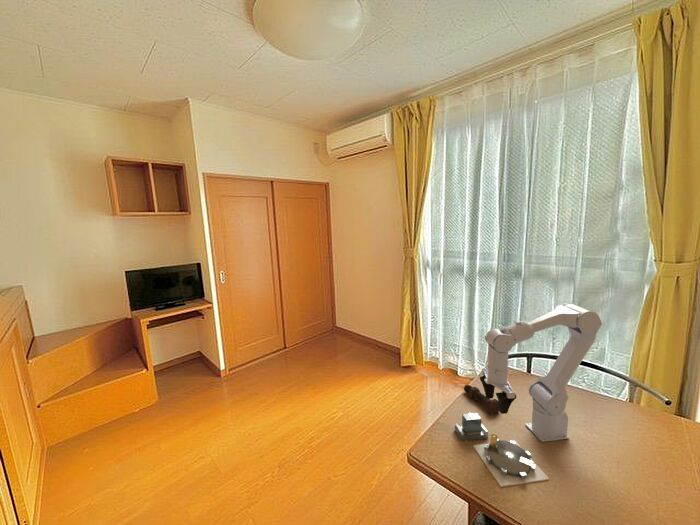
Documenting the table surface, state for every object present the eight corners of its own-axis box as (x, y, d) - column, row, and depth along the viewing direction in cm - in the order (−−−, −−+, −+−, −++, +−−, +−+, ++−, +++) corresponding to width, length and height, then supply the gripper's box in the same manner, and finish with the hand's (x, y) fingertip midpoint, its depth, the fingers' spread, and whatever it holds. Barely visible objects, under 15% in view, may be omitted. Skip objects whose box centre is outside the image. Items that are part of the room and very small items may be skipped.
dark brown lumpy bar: (467, 395, 120) (497, 417, 105) (459, 392, 118) (487, 414, 104) (473, 382, 120) (503, 402, 106) (464, 379, 118) (493, 399, 104)
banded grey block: (476, 425, 98) (476, 412, 97) (481, 432, 95) (481, 418, 94) (462, 427, 97) (462, 413, 96) (466, 434, 94) (466, 420, 93)
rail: (479, 427, 99) (479, 420, 99) (488, 438, 94) (488, 431, 94) (454, 430, 98) (454, 423, 98) (461, 441, 93) (462, 434, 93)
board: (514, 441, 92) (514, 439, 92) (548, 479, 79) (549, 478, 78) (473, 446, 91) (473, 445, 91) (500, 487, 77) (500, 485, 77)
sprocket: (490, 436, 94) (490, 420, 93) (538, 456, 85) (539, 438, 85) (478, 463, 84) (478, 446, 83) (531, 489, 75) (532, 469, 75)
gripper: (473, 357, 99) (473, 393, 101) (499, 380, 85) (498, 421, 87) (493, 355, 100) (491, 391, 102) (522, 377, 85) (520, 419, 87)
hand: (496, 405), depth 94 cm, fingers open, 7 cm apart
